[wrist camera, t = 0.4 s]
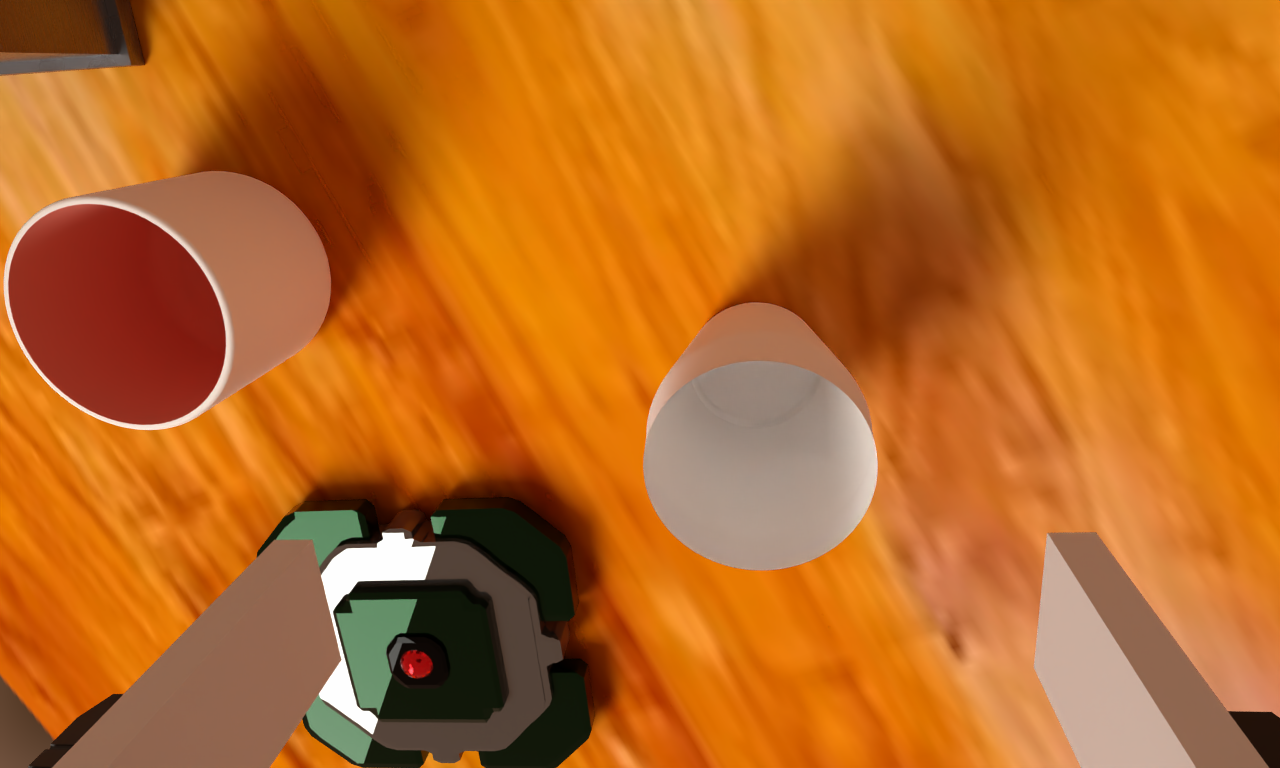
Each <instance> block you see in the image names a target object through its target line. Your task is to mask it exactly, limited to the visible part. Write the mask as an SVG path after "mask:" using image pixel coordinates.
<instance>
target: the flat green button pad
mask: <svg viewBox="0 0 1280 768" xmlns="http://www.w3.org/2000/svg"><path fill="white" fill-rule="evenodd" d="M431 521H432V522H431ZM431 521H428V520H426V516H425V513H424V512H421V511H419V510H402V511H401V512H399V513H397V514H396V516H395V517H394V518H393V519H392V521H391V522H390V523H389V524H382V525H379V524H378V520H377V515H376V511H375V507H374V505H373V504H372V503H371V502H369V501H368V500H367V499H358V500H329V501H305V502H303V503H300V504H298V505H296V506H295V507H294V508H293V509H292V510H291V511H290V512H289V513H288V514H287V515H285V516H284V518H283V519H282V520H281V522H280V523H279V524H278V526H277V527H276V528H275V530H274V531H273V532H272V533H271V535H270V536H269V537H268V539H267V540H266V541H265V543H264V544H263V545H262V547H261V548H260V549H259V551H258V552H257V557H258V556H259V555H260V554H261V553H262V552H263V551H264V550H265V549H266V548H267V547H268V546H269V545H270V544H271V543H272V542H273V541H274V540H313V544H314V548H315V553H316V557H317V561H318V565H319V569H320V573H321V577H322V581H323V585H324V589H325V593H326V598H327V602H328V606H329V610H330V614H331V618H332V622H333V626H334V630H335V634H336V638H337V643H338V647H339V651H340V655H341V659H342V660H341V662H340V663H339V665H338V666H337V668H336V669H335V671H334V672H333V674H332V675H331V677H330V678H329V680H328V681H327V682H326V684H325V685H324V687H323V688H322V690H321V691H320V693H319V694H318V696H317V697H316V699H315V700H314V702H313V703H312V705H311V706H310V708H309V709H308V711H307V712H306V714H305V715H304V717H303V718H302V719H303V723H304V726H305V728H306V729H307V731H308V732H309V733H310V735H311V736H312V737H314V738H315V739H317V740H318V741H320V742H321V743H323V744H324V745H325V746H327V747H328V748H330V749H331V750H333V751H334V752H336V753H337V754H338V755H340V756H341V757H343V758H344V759H346V760H347V761H348V762H350V763H351V764H354V765H357V766H360V767H363V768H420V767H421V766H422V765H423V764H424V762H425V760H426V758H427V756H428V753H429V752H430V753H432V754H433V758H434V760H436V761H438V762H440V763H455V762H457V761H459V760H460V759H461V757H462V754H463V752H464V751H478V752H479V757H480V762H481V765H482V766H484V767H485V768H556V767H558V766H559V765H560V764H561V763H562V762H563V761H564V760H565V759H567V758H568V757H569V756H570V755H571V754H572V753H573V752H574V751H575V750H576V749H578V748H579V747H580V746H581V745H582V744H583V743H584V742H585V741H586V740H587V739H588V738H589V735H590V733H591V730H592V726H593V721H594V717H595V711H594V704H593V697H592V690H591V683H590V676H589V669H588V664H587V663H586V662H584V661H583V660H582V659H563V658H564V655H565V651H566V648H567V645H568V642H569V638H570V632H569V625H568V621H569V620H570V619H571V618H572V617H573V616H574V615H575V613H576V610H577V607H578V604H579V598H578V591H577V584H576V577H575V570H574V563H573V556H572V549H571V545H570V543H569V542H568V540H567V538H566V537H565V535H564V534H562V533H561V532H560V531H559V530H557V529H556V528H555V527H553V526H552V525H551V524H549V523H548V522H547V521H546V520H544V519H543V518H542V517H540V516H539V515H538V514H537V513H535V512H534V511H533V510H531V509H530V508H529V507H528V506H526V505H525V504H524V503H522V502H521V501H519V500H516V499H513V498H509V497H495V498H465V499H444V500H443V501H442V502H441V503H440V504H439V505H438V507H437V508H436V510H435V511H434V513H433V514H432V515H431Z"/></svg>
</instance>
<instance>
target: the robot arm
mask: <svg viewBox="0 0 1280 768" xmlns="http://www.w3.org/2000/svg"><path fill="white" fill-rule="evenodd" d="M341 660H342V659H341V655H340V651H339V647H338V643H337V638H336V634H335V630H334V626H333V622H332V618H331V614H330V610H329V606H328V602H327V598H326V593H325V589H324V585H323V581H322V577H321V573H320V569H319V565H318V561H317V557H316V553H315V548H314V544H313V540H274V541H273V542H272V543H271V544H270V545H269V546H268V547H267V548H266V549H265V550H264V551H263V552H262V553H261V554H260V555H259V556H258V557H257V558H256V559H255V560H254V561H253V562H252V563H251V564H250V565H249V566H248V568H247V569H246V570H245V571H244V572H243V573H242V574H241V575H240V576H239V577H238V578H237V579H236V580H235V581H234V582H233V583H232V584H231V585H230V586H229V587H228V588H227V589H226V590H225V591H224V592H223V593H222V594H221V595H220V596H219V597H218V598H217V599H216V600H215V601H214V602H213V603H212V604H211V605H210V606H209V607H208V608H207V609H206V611H205V612H204V613H203V614H202V615H201V616H200V617H199V618H198V619H197V620H196V621H195V622H194V623H193V624H192V625H191V626H190V627H189V628H188V629H187V630H186V631H185V632H184V633H183V634H182V635H181V636H180V637H179V638H178V639H177V640H176V641H175V642H174V643H173V644H172V645H171V646H170V647H169V648H168V649H167V650H166V651H165V652H164V654H163V655H162V656H161V657H160V658H159V659H158V660H157V661H156V662H155V663H154V664H153V665H152V666H151V667H150V668H149V669H148V670H147V671H146V672H145V673H144V674H143V675H142V676H141V677H140V678H139V679H138V680H137V681H136V682H135V683H134V684H133V685H132V686H131V687H130V688H129V689H128V690H127V691H126V692H125V693H124V694H113V695H111V696H110V697H108V698H107V699H105V700H104V701H102V702H100V703H99V704H97V705H96V706H94V707H93V708H91V709H90V710H88V711H87V712H85V713H84V714H82V715H81V716H79V717H78V718H77V719H76V720H75V721H74V722H73V723H72V724H71V725H70V726H69V727H68V728H66V729H65V730H64V731H63V732H62V733H61V734H60V735H59V736H58V737H57V738H56V739H55V740H54V741H53V742H52V743H51V748H50V749H49V750H48V749H46V750H44V751H43V752H42V753H41V754H40V755H39V756H38V757H37V758H36V759H35V760H34V761H33V762H32V763H31V764H30V765H29V768H269V767H270V766H271V764H272V763H273V762H274V760H275V759H276V757H277V756H278V754H279V753H280V751H281V750H282V748H283V747H284V745H285V744H286V742H287V741H288V739H289V738H290V736H291V735H292V733H293V732H294V730H295V729H296V727H297V726H298V724H299V723H300V721H301V720H302V718H303V717H304V715H305V714H306V712H307V711H308V709H309V708H310V706H311V705H312V703H313V702H314V700H315V699H316V697H317V696H318V694H319V693H320V691H321V690H322V688H323V687H324V685H325V684H326V682H327V681H328V680H329V678H330V677H331V675H332V674H333V672H334V671H335V669H336V668H337V666H338V665H339V663H340V662H341ZM1034 669H1035V671H1036V673H1037V675H1038V677H1039V680H1040V682H1041V684H1042V686H1043V688H1044V690H1045V692H1046V694H1047V696H1048V699H1049V701H1050V703H1051V705H1052V707H1053V709H1054V711H1055V713H1056V716H1057V718H1058V720H1059V722H1060V724H1061V726H1062V728H1063V730H1064V733H1065V735H1066V737H1067V739H1068V741H1069V743H1070V745H1071V747H1072V749H1073V752H1074V754H1075V756H1076V758H1077V760H1078V762H1079V764H1080V766H1081V768H1280V718H1279V717H1278V716H1276V715H1275V714H1273V713H1272V712H1235V711H1227V710H1226V708H1225V707H1224V706H1223V704H1222V703H1221V702H1220V700H1219V699H1218V698H1217V696H1216V695H1215V693H1214V692H1213V691H1212V689H1211V688H1210V687H1209V685H1208V684H1207V683H1206V681H1205V680H1204V679H1203V677H1202V676H1201V674H1200V673H1199V672H1198V670H1197V669H1196V668H1195V666H1194V665H1193V664H1192V662H1191V661H1190V660H1189V658H1188V657H1187V655H1186V654H1185V653H1184V651H1183V650H1182V649H1181V647H1180V646H1179V645H1178V643H1177V642H1176V641H1175V639H1174V638H1173V636H1172V635H1171V634H1170V632H1169V631H1168V630H1167V628H1166V627H1165V626H1164V624H1163V623H1162V622H1161V620H1160V619H1159V617H1158V616H1157V615H1156V613H1155V612H1154V611H1153V609H1152V608H1151V607H1150V605H1149V604H1148V603H1147V601H1146V600H1145V598H1144V597H1143V596H1142V594H1141V593H1140V592H1139V590H1138V589H1137V588H1136V586H1135V585H1134V584H1133V582H1132V581H1131V579H1130V578H1129V577H1128V575H1127V574H1126V573H1125V571H1124V570H1123V569H1122V567H1121V566H1120V565H1119V563H1118V562H1117V560H1116V559H1115V558H1114V556H1113V555H1112V554H1111V552H1110V551H1109V550H1108V548H1107V547H1106V546H1105V544H1104V543H1103V541H1102V540H1101V539H1100V537H1099V536H1098V535H1097V533H1096V532H1093V533H1047V541H1046V551H1045V561H1044V571H1043V581H1042V591H1041V601H1040V611H1039V621H1038V631H1037V641H1036V651H1035V661H1034Z"/></svg>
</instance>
